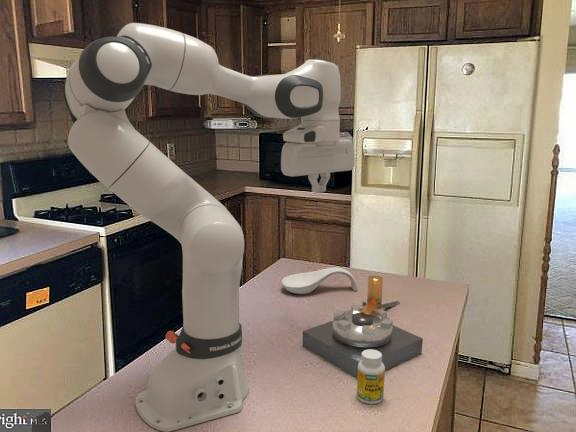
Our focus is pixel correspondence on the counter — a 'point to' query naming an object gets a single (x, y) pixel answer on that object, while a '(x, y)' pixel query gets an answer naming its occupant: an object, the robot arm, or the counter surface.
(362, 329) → the rotary crank dial
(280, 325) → the counter surface
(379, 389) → the supplement bottle
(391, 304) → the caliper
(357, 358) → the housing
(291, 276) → the spoon rest
